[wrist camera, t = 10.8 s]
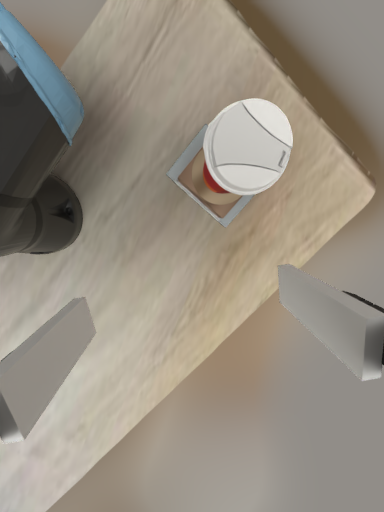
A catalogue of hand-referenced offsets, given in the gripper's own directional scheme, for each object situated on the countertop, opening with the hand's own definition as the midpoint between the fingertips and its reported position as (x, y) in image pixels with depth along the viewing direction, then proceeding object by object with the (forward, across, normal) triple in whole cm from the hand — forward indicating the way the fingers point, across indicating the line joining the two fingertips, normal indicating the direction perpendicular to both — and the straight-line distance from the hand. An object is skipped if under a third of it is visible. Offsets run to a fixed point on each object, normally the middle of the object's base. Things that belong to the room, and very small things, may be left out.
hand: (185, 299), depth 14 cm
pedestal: (+27, +8, +10) cm, 30 cm away
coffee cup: (+22, +8, +10) cm, 25 cm away
